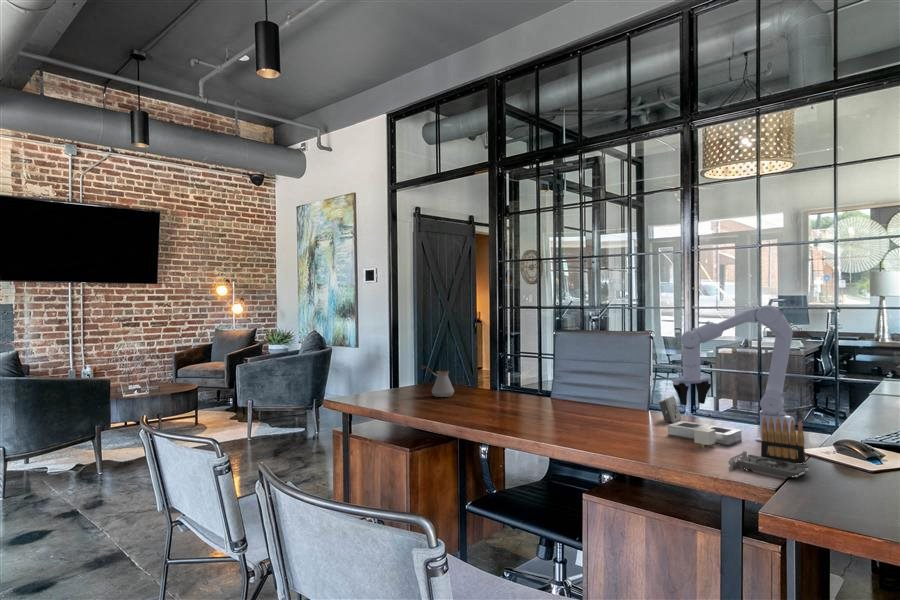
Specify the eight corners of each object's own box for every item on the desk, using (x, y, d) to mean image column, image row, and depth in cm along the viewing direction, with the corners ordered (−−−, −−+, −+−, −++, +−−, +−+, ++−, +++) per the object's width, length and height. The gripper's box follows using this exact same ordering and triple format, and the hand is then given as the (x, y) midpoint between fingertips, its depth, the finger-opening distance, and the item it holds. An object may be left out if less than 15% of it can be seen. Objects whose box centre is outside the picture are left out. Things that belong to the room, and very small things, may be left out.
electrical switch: (674, 423, 203) (671, 399, 204) (660, 423, 206) (657, 399, 207) (681, 419, 211) (678, 395, 211) (668, 419, 214) (665, 395, 214)
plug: (715, 446, 170) (715, 429, 171) (708, 448, 167) (708, 432, 167) (701, 443, 174) (701, 427, 174) (694, 446, 171) (694, 429, 171)
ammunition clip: (760, 458, 156) (759, 416, 157) (762, 456, 158) (761, 415, 158) (804, 464, 150) (803, 421, 150) (805, 463, 151) (804, 420, 151)
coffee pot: (459, 396, 272) (458, 367, 272) (442, 399, 264) (441, 369, 264) (431, 392, 288) (430, 364, 288) (414, 395, 280) (414, 366, 280)
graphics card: (724, 458, 146) (743, 449, 154) (724, 472, 146) (743, 462, 154) (794, 473, 133) (811, 463, 141) (794, 488, 133) (811, 477, 141)
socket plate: (741, 440, 176) (741, 430, 176) (728, 446, 170) (728, 435, 170) (682, 430, 192) (681, 420, 192) (667, 435, 185) (667, 425, 185)
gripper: (700, 363, 196) (701, 400, 195) (666, 365, 191) (667, 403, 191) (715, 365, 189) (716, 404, 189) (680, 367, 185) (681, 407, 184)
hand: (692, 404), depth 189 cm, fingers open, 7 cm apart
